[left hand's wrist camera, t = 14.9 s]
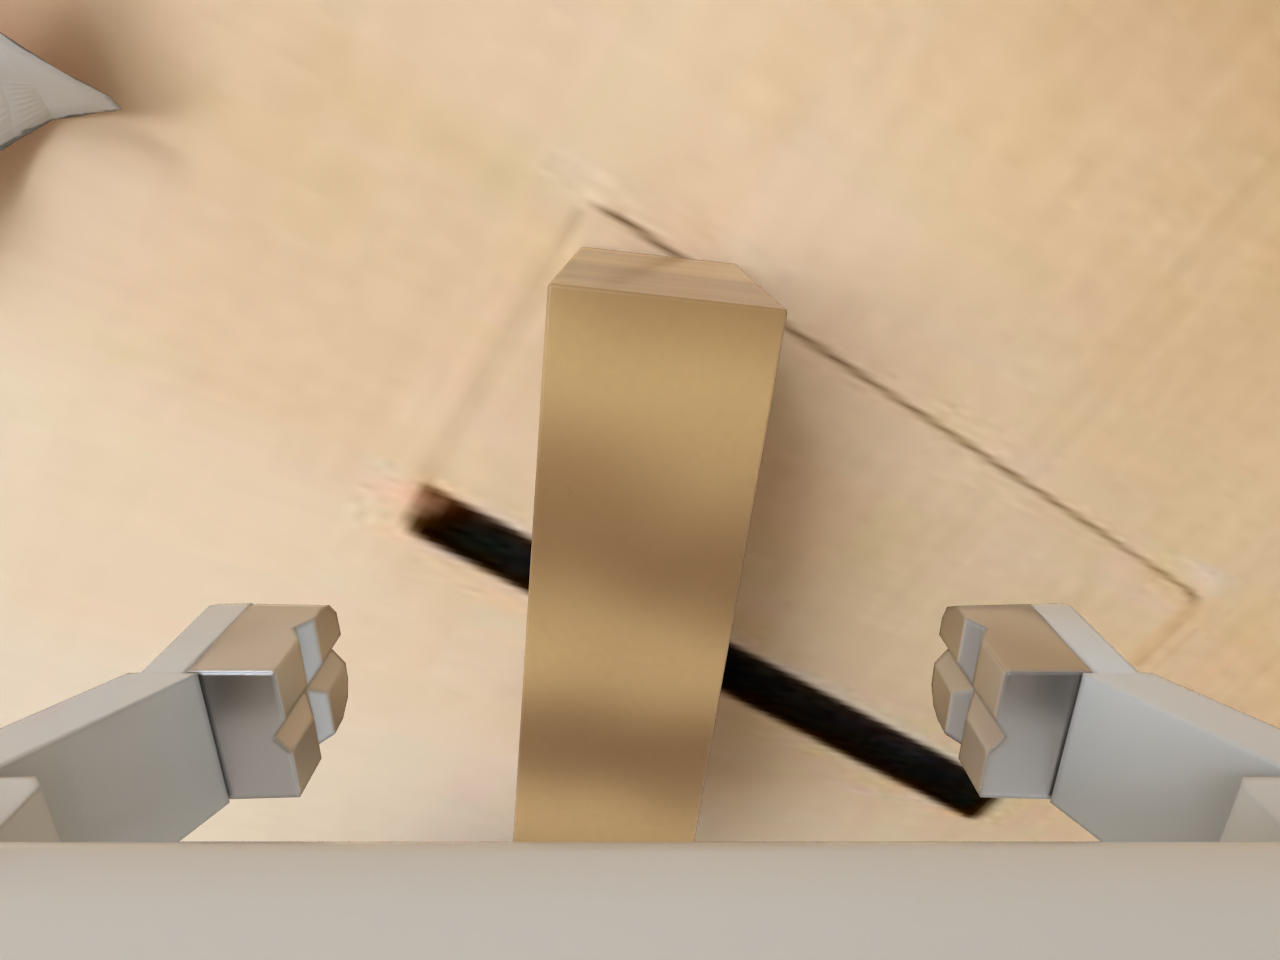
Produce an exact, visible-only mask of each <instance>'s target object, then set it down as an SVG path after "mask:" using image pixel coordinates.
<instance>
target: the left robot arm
mask: <svg viewBox="0 0 1280 960" xmlns="http://www.w3.org/2000/svg"><path fill="white" fill-rule="evenodd" d="M340 635H341V633H340V628H339V623H338V618H337V614H336V612H335V611H334V610H333V609H332V607H331V606H330V605H287V604H255V605H254V604H252V603H240V604H217V605H210V606H209V607H208V608H207V609H206V610H205V611H204V612H203V613H202V614H201V615H200V616H199V617H198V618H197V619H196V620H195V621H194V622H193V623H192V624H190V625H189V626H188V627H187V628H186V629H185V630H184V631H183V632H182V633H181V634H180V635H179V636H178V637H177V638H176V639H175V640H174V641H173V642H172V643H171V644H170V645H169V646H168V647H167V648H166V649H165V650H164V651H163V652H162V653H161V654H160V655H159V656H158V657H157V658H156V659H155V660H154V661H153V662H152V663H151V664H150V665H149V666H148V667H147V668H146V669H145V670H144V671H142V672H141V673H127V674H125V675H123V676H120V677H118V678H116V679H113V680H111V681H109V682H106V683H104V684H102V685H100V686H97V687H95V688H93V689H90V690H88V691H86V692H83V693H81V694H79V695H76V696H74V697H72V698H70V699H67V700H65V701H63V702H60V703H58V704H56V705H53V706H51V707H49V708H46V709H44V710H42V711H40V712H37V713H35V714H33V715H30V716H28V717H26V718H23V719H21V720H19V721H16V722H14V723H12V724H10V725H7V726H5V727H3V728H0V960H1280V729H1279V728H1277V727H1275V726H1272V725H1270V724H1268V723H1266V722H1263V721H1261V720H1259V719H1256V718H1254V717H1252V716H1249V715H1247V714H1245V713H1243V712H1240V711H1238V710H1236V709H1233V708H1231V707H1229V706H1226V705H1224V704H1222V703H1220V702H1217V701H1215V700H1213V699H1210V698H1208V697H1206V696H1203V695H1201V694H1199V693H1197V692H1194V691H1192V690H1190V689H1187V688H1185V687H1183V686H1180V685H1178V684H1176V683H1174V682H1171V681H1169V680H1167V679H1164V678H1162V677H1160V676H1157V675H1155V674H1153V673H1139V672H1138V671H1137V670H1136V669H1135V668H1133V667H1132V666H1131V665H1130V664H1129V663H1128V662H1127V661H1126V660H1125V659H1124V658H1123V657H1122V656H1121V655H1120V654H1119V653H1118V652H1117V651H1116V650H1115V649H1114V648H1113V647H1112V646H1111V645H1110V644H1109V643H1108V642H1107V641H1106V640H1105V639H1104V638H1103V637H1102V636H1101V635H1100V634H1099V633H1098V632H1097V631H1096V630H1095V629H1094V628H1093V627H1092V626H1091V625H1090V624H1089V623H1088V622H1087V621H1086V620H1085V619H1084V618H1083V617H1082V616H1081V615H1080V614H1079V613H1077V612H1076V611H1075V610H1074V609H1073V608H1072V607H1071V606H1068V605H1066V604H1063V603H1049V604H1017V605H976V606H951V607H947V609H946V611H945V613H944V615H943V617H942V622H941V627H940V633H939V635H940V636H941V638H942V640H943V641H944V643H945V644H946V646H947V647H948V650H947V651H946V652H945V653H944V654H943V655H942V656H941V657H940V658H939V659H938V660H937V661H936V662H935V663H934V670H933V678H932V695H933V705H934V709H935V712H936V715H937V719H938V721H939V723H940V725H941V727H942V729H943V731H944V733H945V734H946V735H948V736H949V737H951V738H952V739H954V740H955V741H957V742H958V743H960V744H961V748H960V753H959V760H960V762H961V764H962V765H963V767H964V769H965V771H966V773H967V774H968V776H969V778H970V780H971V781H972V783H973V785H974V787H975V789H976V790H977V792H978V794H979V796H980V797H994V798H1031V799H1051V801H1050V802H1051V803H1052V804H1053V805H1055V806H1056V807H1057V808H1058V809H1060V810H1061V811H1062V812H1064V813H1065V814H1066V815H1068V816H1069V817H1070V818H1071V819H1073V820H1074V821H1075V822H1077V823H1078V824H1079V825H1080V826H1082V827H1083V828H1084V829H1086V830H1087V831H1088V832H1089V833H1091V834H1092V835H1093V836H1095V837H1096V838H1097V839H1098V840H1100V841H1101V842H179V841H180V840H182V839H183V838H184V837H186V836H187V835H188V834H189V833H191V832H192V831H193V830H195V829H196V828H197V827H199V826H200V825H201V824H202V823H204V822H205V821H206V820H208V819H209V818H210V817H211V816H213V815H214V814H215V813H217V812H218V811H219V810H221V809H222V808H223V807H224V806H226V805H227V804H228V803H229V799H248V798H284V797H300V796H301V794H302V792H303V791H304V789H305V787H306V785H307V783H308V782H309V780H310V778H311V776H312V774H313V773H314V771H315V769H316V767H317V765H318V764H319V762H320V760H321V753H320V748H319V744H320V743H322V742H323V741H325V740H326V739H328V738H329V737H331V736H332V735H334V734H335V733H336V731H337V729H338V727H339V725H340V723H341V721H342V719H343V716H344V711H345V707H346V703H347V698H348V675H347V669H346V663H345V662H344V661H343V660H342V659H341V658H340V657H339V656H338V655H337V654H336V653H335V652H334V651H333V650H332V647H333V646H334V644H335V643H336V641H337V640H338V638H339V636H340Z"/></svg>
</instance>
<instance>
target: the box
mask: <svg viewBox="0 0 1280 960" xmlns="http://www.w3.org/2000/svg"><path fill="white" fill-rule="evenodd" d="M786 317H787V310H786V309H785V308H784V307H782V306H781V305H780V304H779V303H778V302H777V301H776V300H775V299H773V298H772V297H771V296H770V295H769V294H768V293H767V292H766V291H765V290H763V289H762V288H761V287H760V286H759V285H758V284H757V283H756V282H754V281H753V280H752V279H751V278H750V277H749V276H748V275H747V274H745V273H744V272H743V271H742V270H741V269H740V268H739V267H738V266H736V265H735V264H729V263H720V262H711V261H702V260H693V259H684V258H675V257H666V256H657V255H648V254H639V253H630V252H622V251H613V250H604V249H595V248H586V247H582V248H580V249H579V251H578V252H577V253H576V254H575V255H574V256H573V257H572V259H571V260H570V261H569V262H568V263H567V264H566V265H565V267H564V268H563V269H562V270H561V271H560V272H559V273H558V274H557V276H556V277H555V278H554V279H553V280H552V281H551V282H550V284H549V285H548V292H547V308H546V324H545V340H544V356H543V372H542V388H541V404H540V420H539V436H538V452H537V468H536V484H535V500H534V516H533V532H532V548H531V564H530V580H529V596H528V612H527V628H526V644H525V661H524V677H523V693H522V709H521V725H520V741H519V757H518V773H517V789H516V805H515V821H514V837H513V842H694V840H695V834H696V828H697V823H698V817H699V811H700V806H701V800H702V794H703V789H704V783H705V777H706V771H707V766H708V760H709V754H710V749H711V743H712V737H713V732H714V726H715V720H716V715H717V709H718V703H719V698H720V692H721V686H722V681H723V675H724V669H725V663H726V658H727V652H728V646H729V641H730V635H731V629H732V624H733V618H734V612H735V607H736V601H737V595H738V590H739V584H740V578H741V573H742V567H743V561H744V555H745V550H746V544H747V538H748V533H749V527H750V521H751V516H752V510H753V504H754V499H755V493H756V487H757V482H758V476H759V470H760V464H761V459H762V453H763V447H764V442H765V436H766V430H767V425H768V419H769V413H770V408H771V402H772V396H773V391H774V385H775V379H776V374H777V368H778V362H779V356H780V351H781V345H782V339H783V334H784V328H785V322H786Z"/></svg>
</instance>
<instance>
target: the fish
mask: <svg viewBox="0 0 1280 960" xmlns="http://www.w3.org/2000/svg"><path fill="white" fill-rule="evenodd" d="M120 109H121V108H120V107H119V106H118V105H117V104H116V103H115V102H114V100H113V99H112V98H111V97H109V96H108V95H106V94H104V93H102V92H100V91H98V90H97V89H95V88H93V87H91V86H89V85H87V84H85V83H83V82H81V81H79V80H77V79H75V78H73V77H71V76H69V75H67V74H65V73H63V72H62V71H60V70H58V69H57V68H55V67H54V66H52V65H50V64H49V63H47V62H46V61H44V60H43V59H41V58H39V57H38V56H36V55H35V54H33V53H31V52H30V51H28V50H27V49H25V48H24V47H22V46H21V45H19V44H18V43H16V42H14V41H13V40H11V39H10V38H8V37H7V36H5V35H4V34H2V33H1V32H0V151H1V150H3V149H4V148H6V147H8V146H9V145H11V144H12V143H14V142H16V141H17V140H19V139H21V138H22V137H24V136H26V135H27V134H29V133H31V132H33V131H34V130H36V129H38V128H39V127H41V126H43V125H45V124H46V123H48V122H50V121H51V120H55V119H61V118H68V117H75V116H81V115H87V114H92V113H97V112H104V111H117V110H120Z"/></svg>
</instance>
